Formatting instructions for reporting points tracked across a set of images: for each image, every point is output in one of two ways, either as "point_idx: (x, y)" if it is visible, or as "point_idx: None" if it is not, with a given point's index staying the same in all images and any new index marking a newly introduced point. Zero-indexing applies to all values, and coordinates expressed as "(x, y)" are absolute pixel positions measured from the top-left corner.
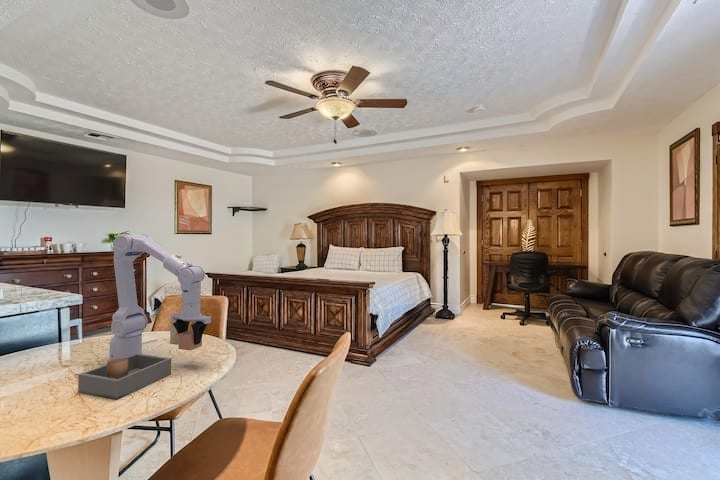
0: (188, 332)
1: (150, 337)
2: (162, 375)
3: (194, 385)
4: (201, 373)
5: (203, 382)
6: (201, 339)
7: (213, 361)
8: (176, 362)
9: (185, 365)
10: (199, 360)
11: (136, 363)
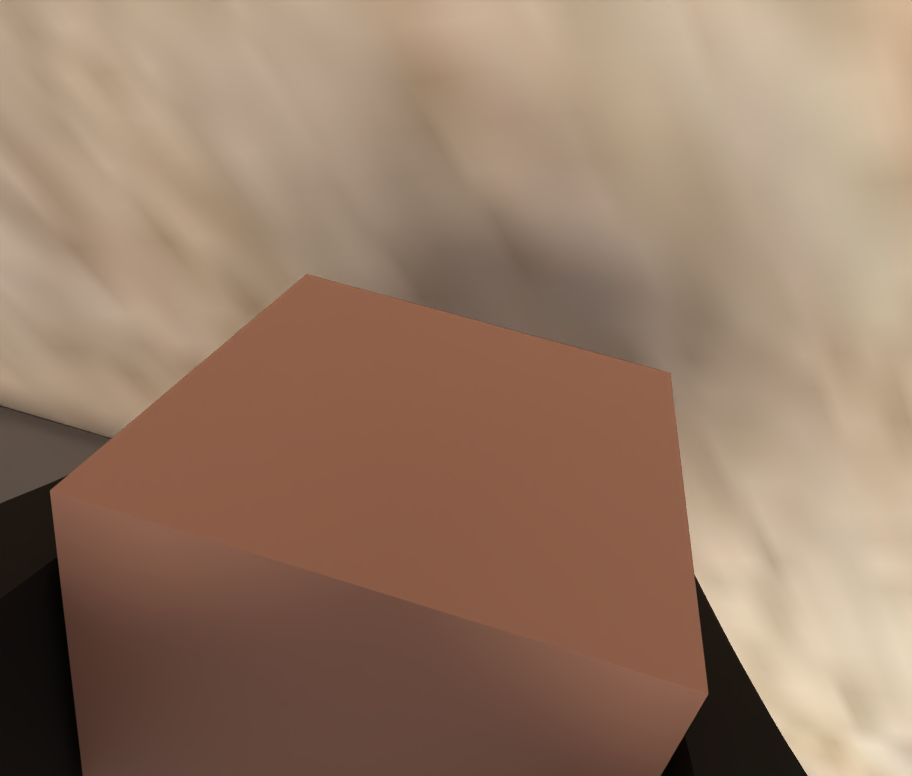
0: (250, 765)
1: None
2: None
3: (810, 760)
4: (775, 517)
5: (888, 718)
6: (672, 489)
7: (809, 44)
8: (215, 165)
9: (416, 270)
10: (516, 25)
11: None
